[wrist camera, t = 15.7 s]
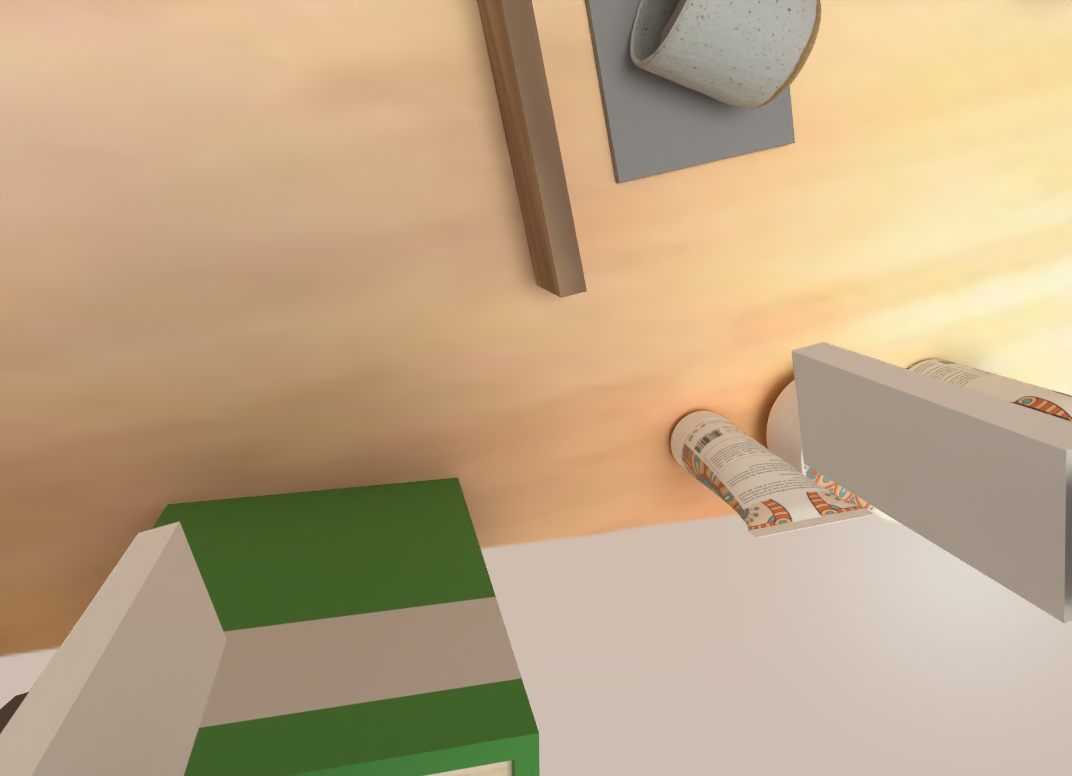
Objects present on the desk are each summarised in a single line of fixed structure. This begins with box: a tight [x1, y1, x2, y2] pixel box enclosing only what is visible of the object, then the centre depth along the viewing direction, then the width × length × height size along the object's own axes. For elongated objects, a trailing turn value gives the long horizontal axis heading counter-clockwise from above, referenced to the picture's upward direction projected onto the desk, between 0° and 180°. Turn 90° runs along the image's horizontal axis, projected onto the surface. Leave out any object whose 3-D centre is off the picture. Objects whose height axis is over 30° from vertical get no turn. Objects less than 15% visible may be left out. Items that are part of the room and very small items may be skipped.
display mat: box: [585, 0, 795, 183], centre depth 43 cm, size 12×14×1 cm
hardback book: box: [153, 478, 539, 776], centre depth 35 cm, size 18×7×24 cm, turn 91°
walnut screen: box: [477, 0, 587, 297], centre depth 40 cm, size 2×20×6 cm, turn 13°
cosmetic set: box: [671, 359, 1072, 538], centre depth 44 cm, size 25×9×19 cm, turn 95°
